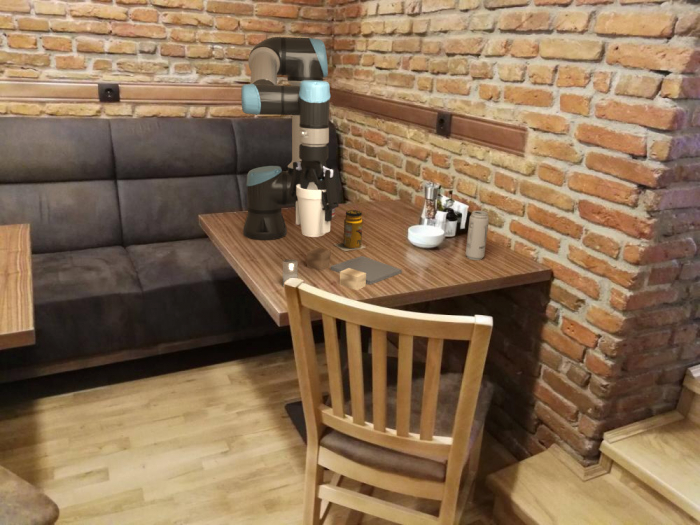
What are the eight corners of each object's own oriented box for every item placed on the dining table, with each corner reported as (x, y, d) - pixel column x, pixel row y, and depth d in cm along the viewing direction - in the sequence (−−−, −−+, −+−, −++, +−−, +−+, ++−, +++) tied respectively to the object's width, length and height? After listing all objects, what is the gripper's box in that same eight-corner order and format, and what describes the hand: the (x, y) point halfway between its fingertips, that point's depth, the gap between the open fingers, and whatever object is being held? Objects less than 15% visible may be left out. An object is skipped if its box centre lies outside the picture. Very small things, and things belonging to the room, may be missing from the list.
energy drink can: (482, 261, 176) (488, 216, 171) (463, 259, 178) (468, 213, 173) (485, 256, 182) (490, 211, 177) (466, 253, 184) (471, 209, 178)
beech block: (339, 285, 154) (339, 271, 153) (348, 281, 157) (348, 267, 156) (356, 290, 151) (357, 277, 150) (365, 286, 154) (366, 273, 153)
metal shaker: (279, 285, 152) (279, 261, 150) (291, 281, 155) (291, 258, 152) (289, 289, 150) (289, 265, 147) (300, 286, 152) (300, 262, 150)
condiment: (366, 247, 185) (368, 213, 181) (345, 251, 181) (346, 216, 177) (354, 241, 191) (355, 207, 187) (333, 245, 187) (334, 210, 182)
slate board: (330, 269, 165) (330, 266, 165) (361, 258, 175) (362, 255, 175) (370, 284, 155) (370, 281, 155) (401, 272, 165) (401, 269, 164)
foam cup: (312, 241, 145) (313, 192, 140) (288, 232, 150) (288, 185, 146) (337, 233, 151) (339, 186, 147) (314, 225, 157) (314, 180, 152)
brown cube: (306, 267, 166) (307, 251, 164) (315, 262, 170) (316, 247, 169) (321, 270, 164) (321, 254, 162) (329, 266, 168) (330, 250, 166)
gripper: (275, 139, 146) (275, 221, 154) (333, 151, 132) (331, 240, 140) (296, 137, 151) (296, 216, 160) (355, 148, 138) (351, 234, 146)
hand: (312, 227), depth 150 cm, fingers closed on foam cup, 9 cm apart
